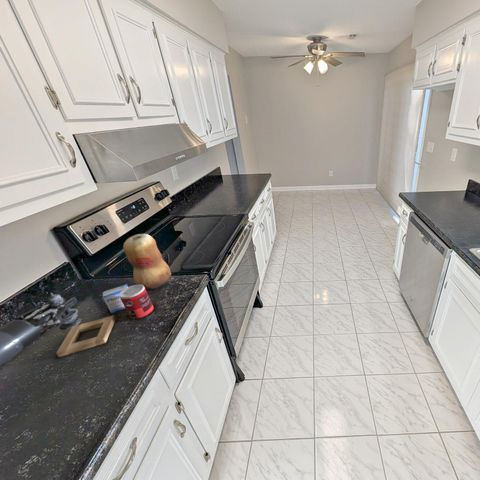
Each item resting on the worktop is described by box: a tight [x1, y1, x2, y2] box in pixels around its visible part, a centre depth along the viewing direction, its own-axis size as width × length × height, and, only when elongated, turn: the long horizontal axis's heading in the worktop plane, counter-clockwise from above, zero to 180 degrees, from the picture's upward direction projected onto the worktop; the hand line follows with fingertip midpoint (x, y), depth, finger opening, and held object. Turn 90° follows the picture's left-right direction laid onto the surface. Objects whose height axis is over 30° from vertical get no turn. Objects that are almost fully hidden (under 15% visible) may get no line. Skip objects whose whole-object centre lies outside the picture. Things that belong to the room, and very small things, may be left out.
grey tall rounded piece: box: [47, 292, 82, 331], centre depth 78 cm, size 6×6×12 cm
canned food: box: [119, 284, 154, 320], centre depth 96 cm, size 8×8×11 cm
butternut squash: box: [122, 233, 172, 290], centre depth 109 cm, size 14×13×25 cm
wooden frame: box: [55, 314, 117, 358], centre depth 88 cm, size 13×13×2 cm
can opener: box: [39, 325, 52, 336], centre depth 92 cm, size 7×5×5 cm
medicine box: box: [102, 283, 129, 314], centre depth 101 cm, size 8×4×9 cm, turn 126°
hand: (69, 299), depth 80 cm, fingers closed on grey tall rounded piece, 3 cm apart
